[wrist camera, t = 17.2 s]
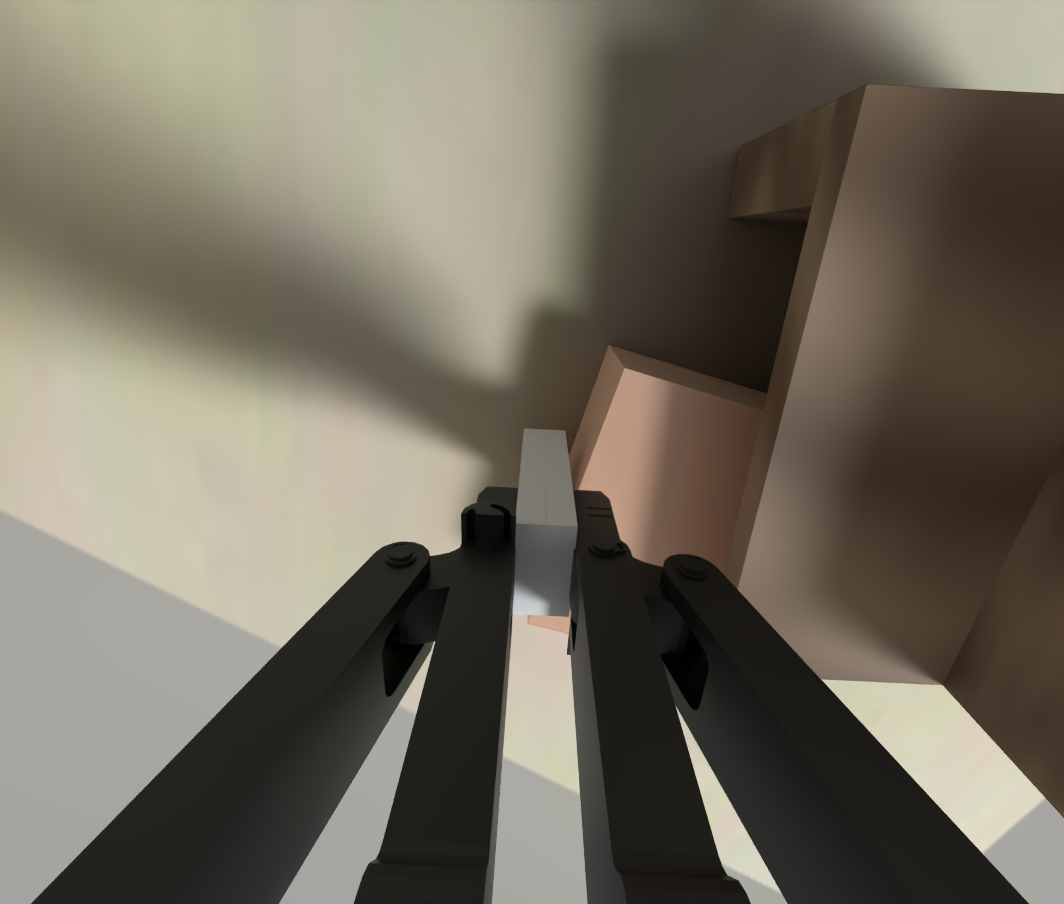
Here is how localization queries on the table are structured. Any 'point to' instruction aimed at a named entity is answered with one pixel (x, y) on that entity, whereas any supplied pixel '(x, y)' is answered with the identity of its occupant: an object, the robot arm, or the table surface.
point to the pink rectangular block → (665, 458)
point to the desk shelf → (918, 404)
